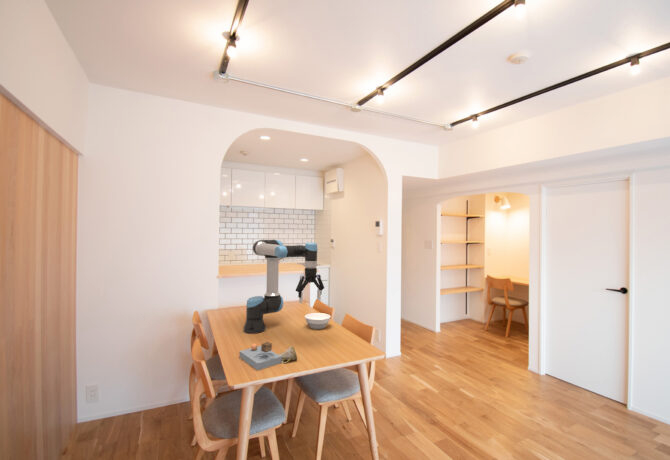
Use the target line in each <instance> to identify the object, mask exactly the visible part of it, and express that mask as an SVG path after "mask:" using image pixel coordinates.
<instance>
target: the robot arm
mask: <svg viewBox="0 0 670 460" xmlns="http://www.w3.org/2000/svg"><path fill="white" fill-rule="evenodd" d="M252 251H253V253H254V254H255V255H257V256H263V257H264V259H265V260H266V292H265V293H264V294H263V295H264V296H263V295H256V296H255V295H254V296H252V297H249V298H248V299H247V300H246V305H245V306H246V317H245V318H246V319H245V322H244V325H243V333H246V334H260V333H263V332H265V331H266V324H265V321H264V315H267V314H275V313H279V312H281V311H282V310H283V307H284V298H283V297H282V296H281V293H280V292H279V260H280V259H284V258H304V275H300V277H299V282H298V283H297V286H296V288H295V292H297V293H298V296H297V297H298V298H299V300H298V303H300V304H303V303H304V292H303V291H304V289H305V288H306V286H307V285H308V284H311V283H313V284H314V285H315V286H316V288H317V291H316V292H317V293H316V300H317V301H319V302H320V301H321V298H322V297H321V296H322V292H323V290H325V286H324V283H323V281H322V278H321V274H317V272H318V269H317V267H318V244H317V242H306V243H305V245H303V244H297V245H285V244H283V242H282V241H281V240H279V239H259V240H257V241H255V242H254V243H253V245H252Z"/></svg>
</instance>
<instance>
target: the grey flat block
mask: <svg viewBox="0 0 670 460" xmlns="http://www.w3.org/2000/svg"><path fill="white" fill-rule="evenodd" d="M238 357H239V358H240V359H241V360H242V361H244V362H245V363H246V364H248V365H249V366H250V367H252V368H254V369H255V370H257V371H261V370H263V369H266V368H269V367H274V366H276V365H279V364H282V361H281V356H280V354H278V353H276V352H274V351H273V350H271V351H269V352H263V351H261V345H259V346H258V345H257V349H256V350H252V349H251V347H250V348H247V349H244V350H243V349H242V350H239V356H238Z"/></svg>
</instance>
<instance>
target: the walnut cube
mask: <svg viewBox="0 0 670 460" xmlns="http://www.w3.org/2000/svg"><path fill="white" fill-rule="evenodd" d="M260 344H261V345H260V346H261V351H263V352H269V351H273V350H272V347H273V346H272V344H273V343H272V342H269V341H264V342H262V343H260Z"/></svg>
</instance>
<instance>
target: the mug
mask: <svg viewBox="0 0 670 460" xmlns="http://www.w3.org/2000/svg"><path fill="white" fill-rule="evenodd" d="M279 355H280V356H281V364H282V365H284V364H285V365H286V364H287V363H289V362H290V361H295V360H297V359H298V356H297V352H296V349H295V346H290V347H289V348H287V349H286V350H285V351H284V352H282V353H280V354H279Z"/></svg>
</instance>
